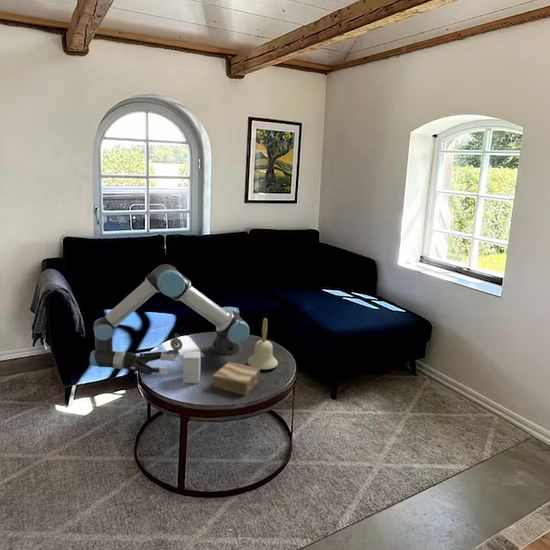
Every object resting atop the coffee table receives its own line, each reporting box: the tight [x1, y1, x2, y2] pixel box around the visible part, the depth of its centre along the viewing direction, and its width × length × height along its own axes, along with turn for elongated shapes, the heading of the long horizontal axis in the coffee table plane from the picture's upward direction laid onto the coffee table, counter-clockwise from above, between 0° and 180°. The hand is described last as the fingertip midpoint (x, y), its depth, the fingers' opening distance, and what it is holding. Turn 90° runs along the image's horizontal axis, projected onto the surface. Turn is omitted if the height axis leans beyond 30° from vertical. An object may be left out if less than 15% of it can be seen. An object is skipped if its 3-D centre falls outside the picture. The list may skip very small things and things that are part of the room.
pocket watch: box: [165, 333, 183, 357], centre depth 253 cm, size 8×8×10 cm
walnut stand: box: [212, 361, 261, 396], centre depth 225 cm, size 16×16×6 cm
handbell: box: [246, 317, 279, 370], centre depth 244 cm, size 15×15×25 cm
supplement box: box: [182, 351, 202, 384], centre depth 225 cm, size 7×7×13 cm
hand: (171, 364), depth 225 cm, fingers open, 13 cm apart
